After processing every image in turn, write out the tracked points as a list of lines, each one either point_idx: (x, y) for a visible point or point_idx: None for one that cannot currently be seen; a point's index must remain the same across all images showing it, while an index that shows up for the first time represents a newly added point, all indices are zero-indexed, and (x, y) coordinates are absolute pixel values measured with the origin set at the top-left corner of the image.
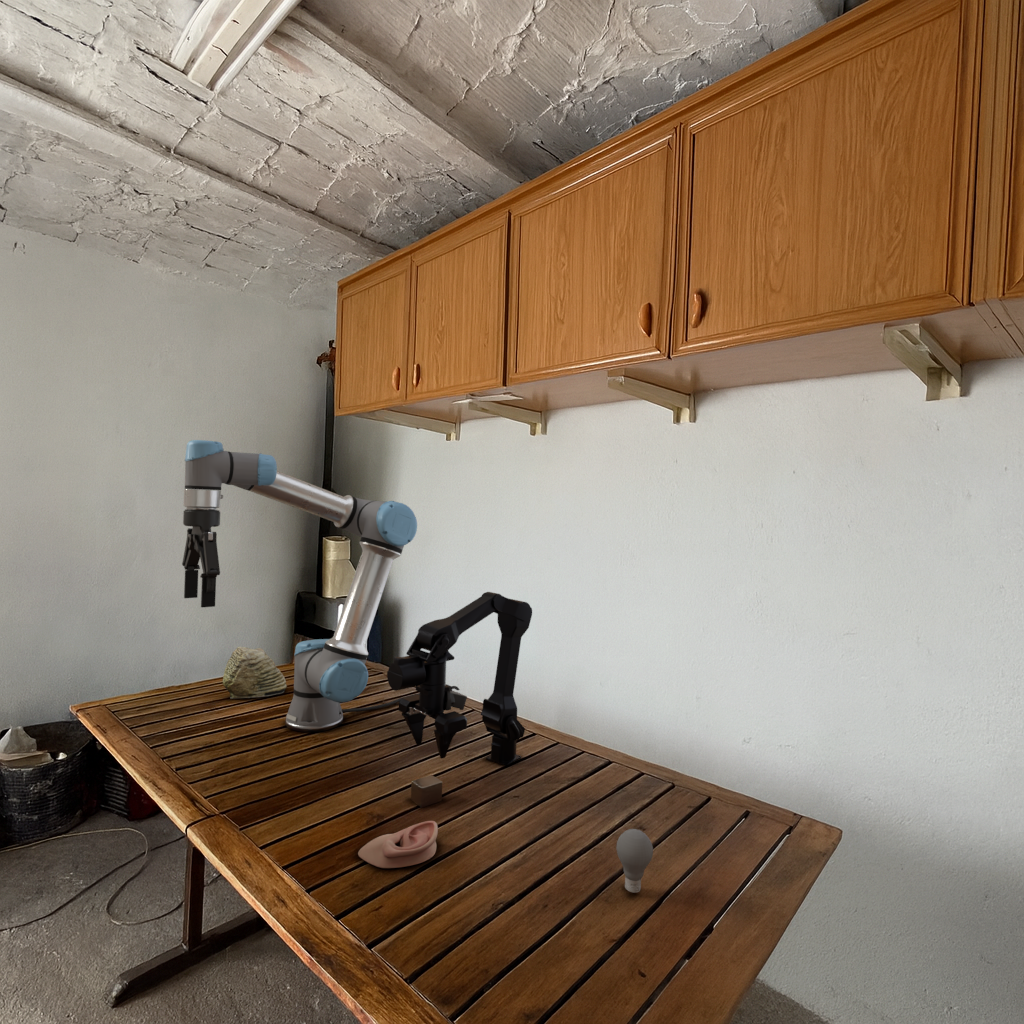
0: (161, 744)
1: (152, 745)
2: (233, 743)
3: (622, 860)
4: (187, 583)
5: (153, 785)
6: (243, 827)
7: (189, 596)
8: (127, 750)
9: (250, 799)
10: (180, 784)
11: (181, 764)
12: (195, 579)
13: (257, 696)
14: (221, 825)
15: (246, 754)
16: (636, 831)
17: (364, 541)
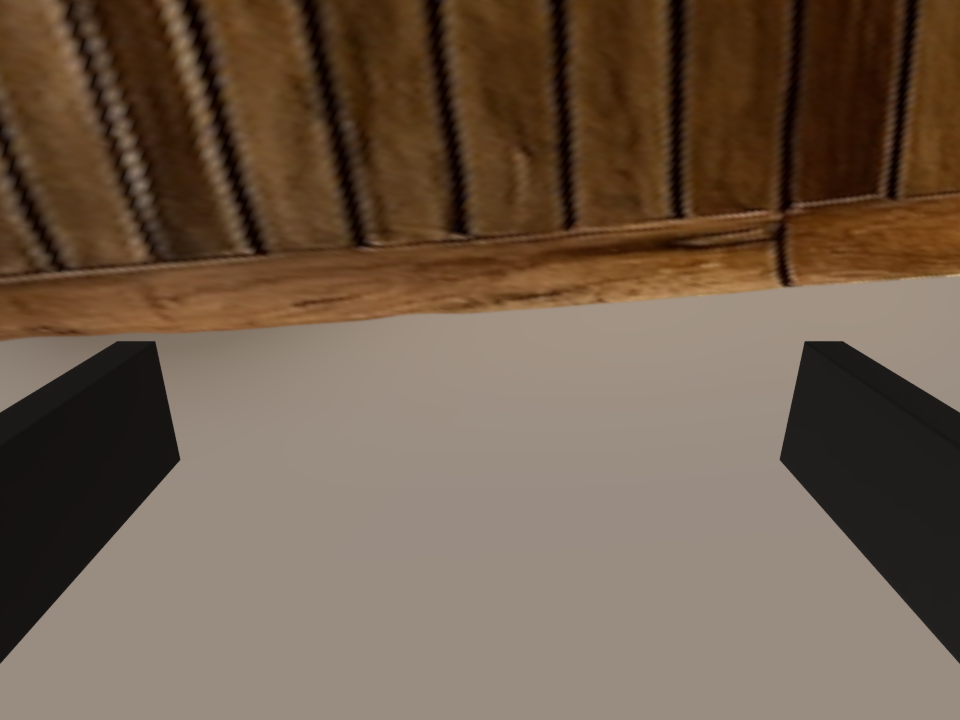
0: (246, 223)
1: (242, 246)
2: (344, 23)
3: None
4: (75, 551)
5: (527, 301)
6: (889, 188)
7: (164, 428)
8: (252, 309)
9: (769, 123)
10: (562, 247)
11: (432, 213)
12: (5, 490)
13: None
14: (841, 227)
15: (463, 18)
16: None
17: None
